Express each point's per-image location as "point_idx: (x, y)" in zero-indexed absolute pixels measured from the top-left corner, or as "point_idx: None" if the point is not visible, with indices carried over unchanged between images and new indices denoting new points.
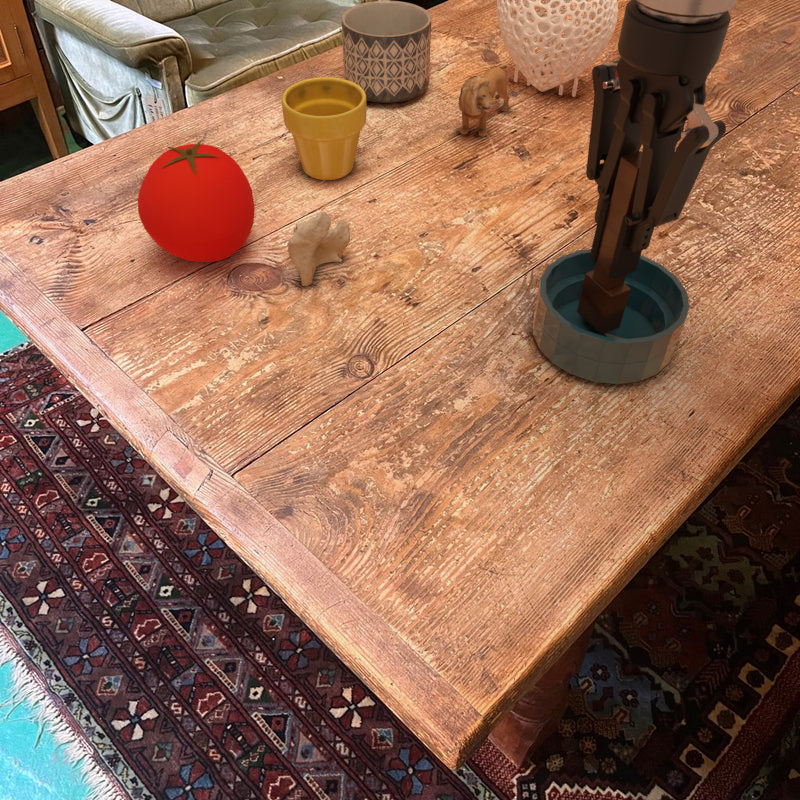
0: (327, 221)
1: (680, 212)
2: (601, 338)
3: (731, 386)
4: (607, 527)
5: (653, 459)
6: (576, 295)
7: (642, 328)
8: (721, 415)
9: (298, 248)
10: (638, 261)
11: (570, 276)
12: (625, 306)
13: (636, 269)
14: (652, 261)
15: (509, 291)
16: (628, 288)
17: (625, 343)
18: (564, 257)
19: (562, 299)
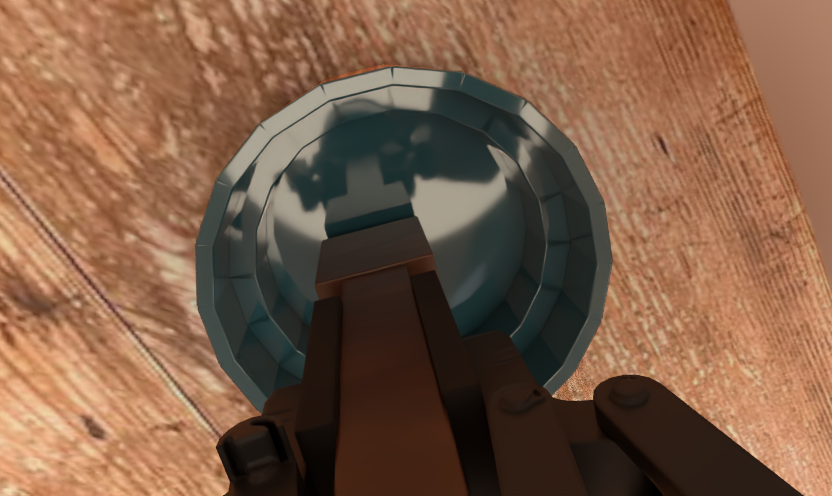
0: None
1: (678, 400)
2: (563, 377)
3: (627, 8)
4: (807, 395)
5: (728, 271)
6: (265, 261)
7: (404, 136)
8: (690, 83)
9: None
10: (439, 283)
11: (235, 295)
12: (425, 235)
13: (434, 271)
14: (295, 106)
15: (191, 378)
16: (430, 260)
17: (595, 328)
18: (227, 358)
19: (282, 307)
